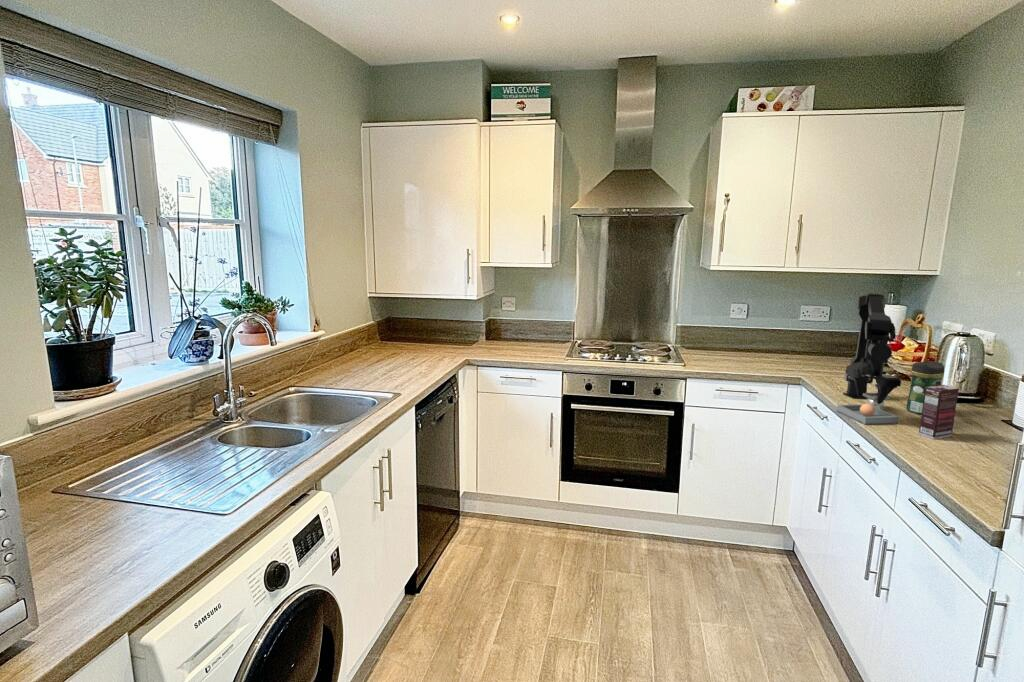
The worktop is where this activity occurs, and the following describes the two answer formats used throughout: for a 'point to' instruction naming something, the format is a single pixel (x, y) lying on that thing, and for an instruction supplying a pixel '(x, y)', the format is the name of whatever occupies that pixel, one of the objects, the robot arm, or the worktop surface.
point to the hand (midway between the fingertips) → (868, 399)
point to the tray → (876, 419)
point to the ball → (867, 409)
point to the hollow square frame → (874, 400)
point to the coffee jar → (923, 383)
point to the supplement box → (938, 411)
